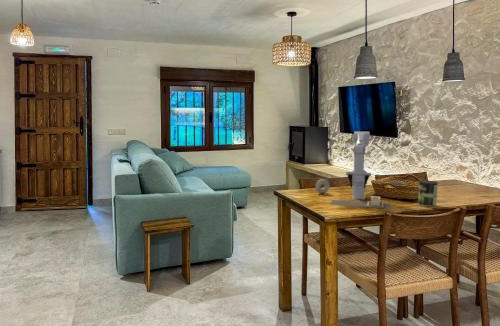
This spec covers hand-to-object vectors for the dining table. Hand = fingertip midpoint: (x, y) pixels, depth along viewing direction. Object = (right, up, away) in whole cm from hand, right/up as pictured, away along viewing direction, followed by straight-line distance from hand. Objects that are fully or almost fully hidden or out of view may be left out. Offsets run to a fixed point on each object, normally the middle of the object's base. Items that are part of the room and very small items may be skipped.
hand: (357, 187), depth 255 cm
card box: (+8, -10, -7) cm, 15 cm away
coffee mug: (+29, -8, +19) cm, 35 cm away
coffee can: (+40, -11, -3) cm, 42 cm away
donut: (-17, -6, +29) cm, 34 cm away
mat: (0, -10, -5) cm, 11 cm away
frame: (+8, -10, -7) cm, 15 cm away
